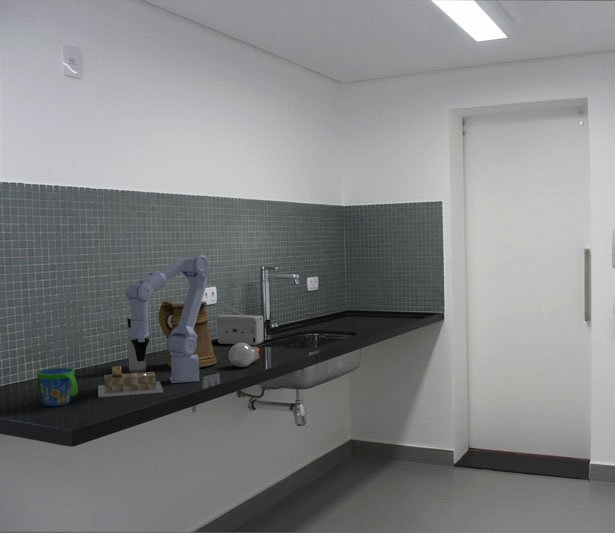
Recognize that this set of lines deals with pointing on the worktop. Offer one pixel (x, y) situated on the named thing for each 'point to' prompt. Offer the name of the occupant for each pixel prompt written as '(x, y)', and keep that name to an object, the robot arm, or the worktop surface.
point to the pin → (116, 371)
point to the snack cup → (56, 386)
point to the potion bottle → (243, 354)
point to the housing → (130, 381)
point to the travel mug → (134, 355)
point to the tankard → (200, 328)
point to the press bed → (129, 391)
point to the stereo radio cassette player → (240, 329)
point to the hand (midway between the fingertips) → (140, 361)
